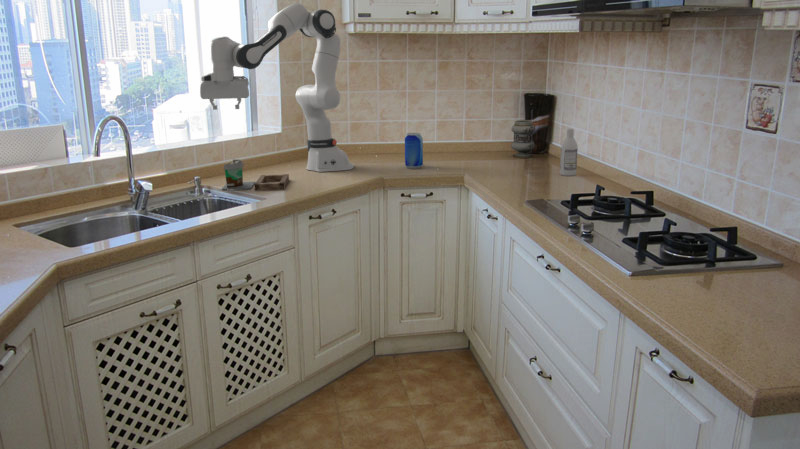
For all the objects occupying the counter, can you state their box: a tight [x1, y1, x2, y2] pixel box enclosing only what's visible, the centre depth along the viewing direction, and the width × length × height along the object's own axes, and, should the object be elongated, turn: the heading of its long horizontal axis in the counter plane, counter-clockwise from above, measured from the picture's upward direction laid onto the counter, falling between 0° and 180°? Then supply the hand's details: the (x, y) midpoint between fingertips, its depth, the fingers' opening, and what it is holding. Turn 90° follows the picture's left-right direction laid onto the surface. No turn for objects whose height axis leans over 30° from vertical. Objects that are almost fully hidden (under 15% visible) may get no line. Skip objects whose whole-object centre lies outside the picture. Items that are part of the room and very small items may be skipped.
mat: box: [221, 181, 256, 191], centre depth 272 cm, size 12×12×1 cm
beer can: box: [404, 132, 424, 170], centre depth 302 cm, size 8×8×16 cm
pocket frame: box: [254, 173, 290, 191], centre depth 274 cm, size 12×18×2 cm, turn 3°
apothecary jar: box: [510, 119, 536, 159], centre depth 323 cm, size 12×12×18 cm
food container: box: [223, 159, 245, 188], centre depth 271 cm, size 12×6×10 cm, turn 175°
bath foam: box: [559, 128, 579, 177], centre depth 279 cm, size 7×7×20 cm
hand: (226, 109), depth 277 cm, fingers open, 8 cm apart
